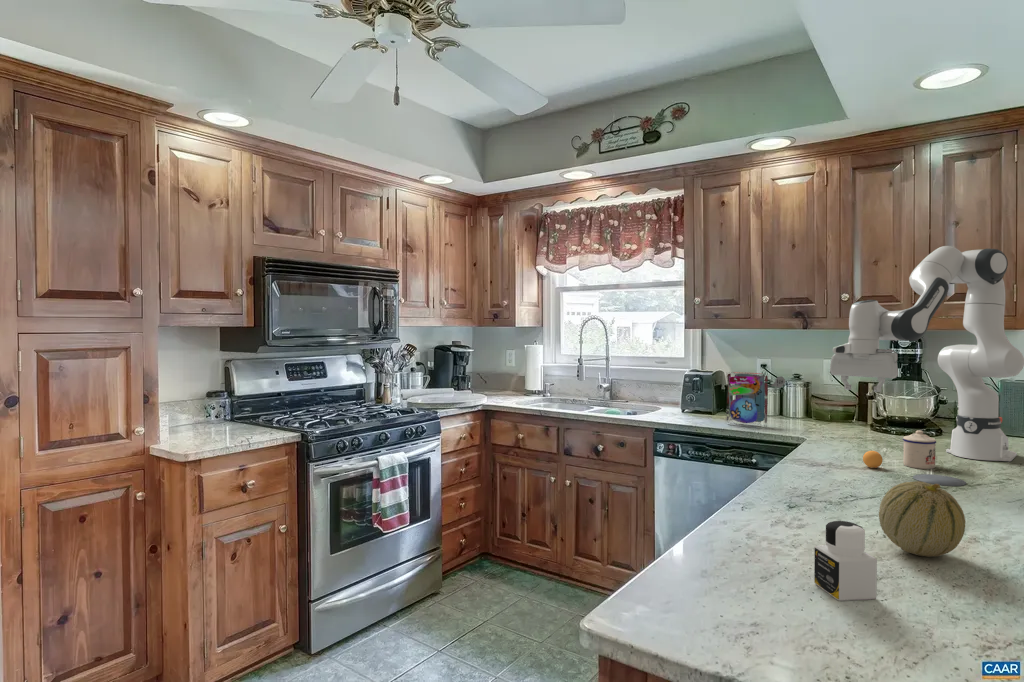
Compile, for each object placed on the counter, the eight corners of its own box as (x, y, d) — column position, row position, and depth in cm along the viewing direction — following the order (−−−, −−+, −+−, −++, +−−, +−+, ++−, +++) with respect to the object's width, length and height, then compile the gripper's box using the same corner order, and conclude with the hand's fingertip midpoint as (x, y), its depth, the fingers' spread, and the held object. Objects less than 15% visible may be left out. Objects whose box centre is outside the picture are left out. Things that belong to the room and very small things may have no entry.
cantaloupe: (883, 535, 133) (884, 468, 133) (966, 551, 124) (967, 479, 124) (872, 556, 122) (873, 482, 122) (962, 574, 113) (963, 495, 112)
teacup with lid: (932, 470, 190) (932, 434, 190) (899, 466, 197) (899, 430, 197) (941, 464, 199) (941, 429, 198) (908, 460, 205) (909, 426, 205)
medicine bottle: (813, 583, 109) (813, 518, 109) (850, 581, 110) (851, 516, 110) (837, 601, 102) (838, 531, 102) (877, 599, 103) (878, 530, 103)
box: (786, 428, 267) (787, 374, 266) (782, 430, 262) (782, 375, 262) (730, 423, 283) (730, 371, 282) (725, 425, 278) (725, 372, 278)
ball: (868, 464, 199) (868, 448, 199) (885, 468, 194) (886, 451, 194) (859, 467, 196) (859, 450, 196) (877, 470, 191) (877, 453, 191)
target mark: (925, 472, 188) (925, 472, 188) (974, 481, 177) (974, 481, 177) (904, 478, 181) (904, 478, 181) (954, 488, 170) (954, 487, 170)
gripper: (902, 349, 192) (901, 393, 191) (838, 348, 209) (836, 388, 208) (892, 348, 188) (891, 393, 188) (828, 348, 205) (826, 388, 205)
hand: (862, 390), depth 198 cm, fingers open, 8 cm apart
